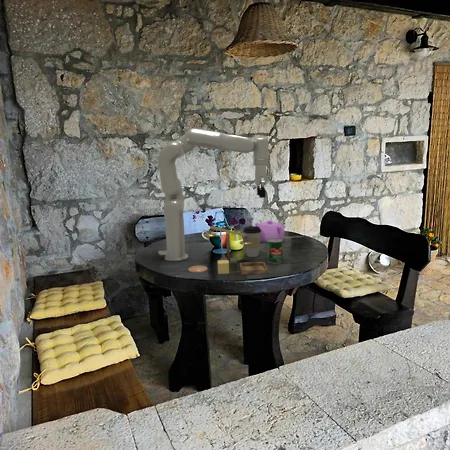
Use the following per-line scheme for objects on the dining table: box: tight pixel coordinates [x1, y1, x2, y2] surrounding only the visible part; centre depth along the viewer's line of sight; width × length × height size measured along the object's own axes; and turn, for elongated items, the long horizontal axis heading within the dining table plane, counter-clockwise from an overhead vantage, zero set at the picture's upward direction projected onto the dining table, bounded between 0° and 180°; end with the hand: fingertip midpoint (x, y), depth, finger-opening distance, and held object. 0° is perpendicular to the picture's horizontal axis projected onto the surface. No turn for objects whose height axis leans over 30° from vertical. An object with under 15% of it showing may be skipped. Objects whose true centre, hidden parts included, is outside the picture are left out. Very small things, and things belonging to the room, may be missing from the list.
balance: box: [203, 225, 252, 264], centre depth 201 cm, size 23×6×18 cm, turn 92°
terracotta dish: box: [188, 265, 208, 273], centre depth 192 cm, size 9×9×1 cm
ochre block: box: [217, 259, 230, 275], centre depth 187 cm, size 5×5×5 cm
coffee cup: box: [242, 225, 261, 258], centre depth 212 cm, size 9×9×15 cm
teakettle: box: [254, 219, 286, 244], centre depth 244 cm, size 17×17×12 cm
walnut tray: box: [239, 261, 269, 276], centre depth 188 cm, size 12×12×2 cm
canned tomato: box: [266, 238, 284, 265], centre depth 200 cm, size 8×8×11 cm
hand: (261, 196), depth 207 cm, fingers open, 9 cm apart
